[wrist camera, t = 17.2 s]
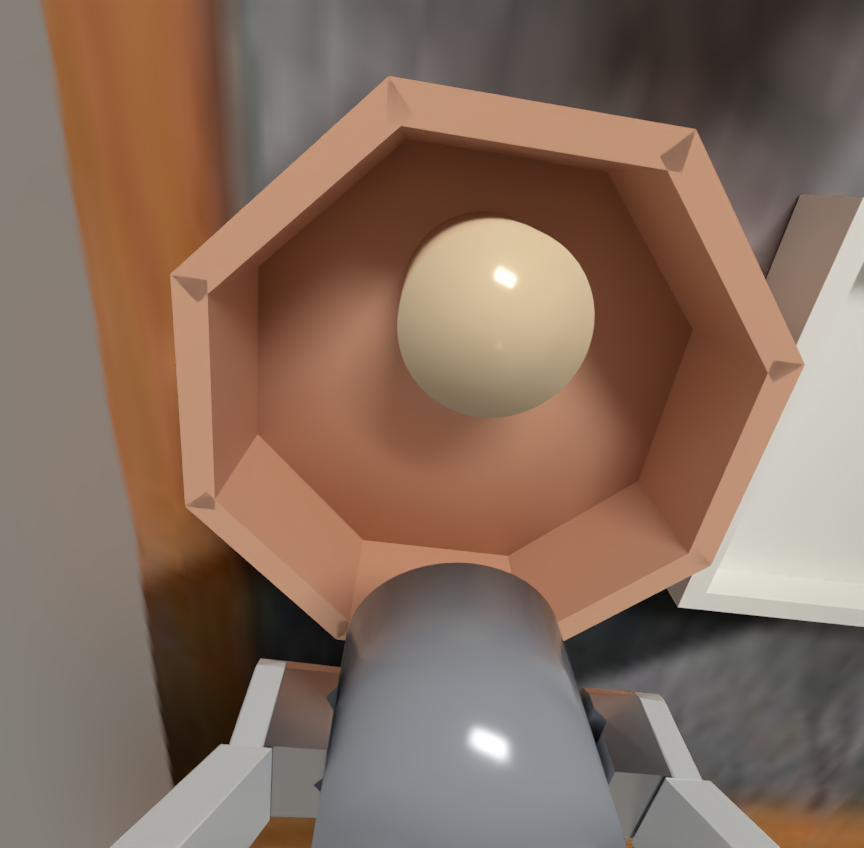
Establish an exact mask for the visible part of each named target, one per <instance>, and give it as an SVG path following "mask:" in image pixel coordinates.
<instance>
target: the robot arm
mask: <svg viewBox="0 0 864 848" xmlns="http://www.w3.org/2000/svg"><path fill="white" fill-rule="evenodd" d="M340 674H341V667H334V666H325V665H317V664H308V663H299V662H291V661H280V660H270V659H260V660H259V662H258V664H257V665H256V667H255V670H254V673H253V676H252V679H251V682H250V685H249V688H248V691H247V693H246V696H245V699H244V702H243V705H242V708H241V711H240V714H239V717H238V720H237V723H236V726H235V729H234V732H233V735H232V737H231V740H230V743H229V744H220V745H219V746H218V747H217V748H216V749H215V750H214V751H212V752H211V753H210V754H209V755H208V756H207V757H206V758H205V759H204V760H203V761H202V762H201V763H200V764H199V765H197V766H196V767H195V768H194V769H193V770H192V771H191V772H190V773H189V774H188V775H187V776H186V777H185V778H184V779H182V780H181V781H180V782H179V783H178V784H177V785H176V786H175V787H174V788H173V789H172V790H171V791H170V792H169V793H168V794H166V795H165V796H164V797H163V798H162V799H161V800H160V801H159V802H158V803H157V804H156V805H155V806H154V807H153V808H151V809H150V810H149V811H148V812H147V813H146V814H145V815H144V816H143V817H142V818H141V819H140V820H139V821H138V822H137V823H135V824H134V825H133V826H132V827H131V828H130V829H129V830H128V831H127V832H126V833H125V834H124V835H122V836H121V838H119V839H118V840H117V841H116V842H115V843H114V844H113V845H112V846H111V847H110V848H249V847H250V845H251V844H252V843H253V842H254V840H255V839H256V838H257V836H258V835H259V834H260V832H261V831H262V830H263V828H264V827H265V826H266V824H267V823H268V822H269V820H270V816H274V817H304V818H316V816H317V810H318V804H319V798H320V792H321V786H322V779H323V777H324V775H325V769H326V763H327V757H328V751H329V745H330V739H331V732H332V722H333V715H334V712H335V708H336V702H337V695H338V689H339V682H340ZM579 693H580V696H581V699H582V702H583V706H584V709H585V712H586V715H587V718H588V722H589V725H590V728H591V731H592V734H593V738H594V741H595V744H596V747H597V751H598V754H599V757H600V760H601V763H602V767H603V770H604V773H605V776H606V780H607V783H608V786H609V789H610V792H611V796H612V799H613V802H614V805H615V808H616V812H617V815H618V818H619V821H620V825H621V828H622V831H623V834H624V838H625V839H628V840H632V842H631V843H632V845H633V846H634V847H635V848H780V847H779V846H778V845H777V844H776V843H775V842H774V841H773V840H772V839H771V838H770V837H769V836H768V835H767V834H766V833H764V832H763V831H762V830H761V829H760V828H759V827H758V826H757V825H756V824H755V823H754V822H753V821H752V820H751V819H750V818H749V817H748V816H747V815H746V814H744V813H743V812H742V811H741V810H740V809H739V808H738V807H737V806H736V805H735V804H734V803H733V802H732V801H731V800H730V799H729V798H728V797H727V796H726V795H724V794H723V793H722V792H721V791H720V790H719V789H718V788H717V787H716V786H715V785H714V784H713V783H712V782H711V781H706V780H702V778H701V776H700V774H699V772H698V770H697V768H696V766H695V764H694V761H693V759H692V757H691V755H690V753H689V751H688V749H687V747H686V745H685V743H684V741H683V738H682V736H681V734H680V732H679V730H678V728H677V726H676V724H675V722H674V720H673V718H672V715H671V713H670V711H669V709H668V707H667V705H666V703H665V701H664V699H663V698H662V697H661V696H660V695H659V694H651V693H640V692H631V691H623V690H609V689H595V688H582V689H581V690H580V691H579Z"/></svg>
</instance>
